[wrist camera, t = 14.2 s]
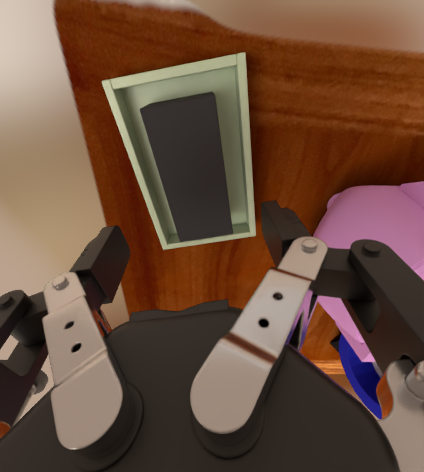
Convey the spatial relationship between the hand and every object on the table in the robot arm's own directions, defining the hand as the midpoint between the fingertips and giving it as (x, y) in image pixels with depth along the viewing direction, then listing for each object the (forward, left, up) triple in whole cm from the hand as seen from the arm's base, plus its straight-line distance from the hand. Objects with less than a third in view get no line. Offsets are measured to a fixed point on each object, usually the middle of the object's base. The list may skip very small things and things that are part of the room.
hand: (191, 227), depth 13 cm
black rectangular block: (0, 0, -10) cm, 10 cm away
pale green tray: (0, 0, -10) cm, 10 cm away
